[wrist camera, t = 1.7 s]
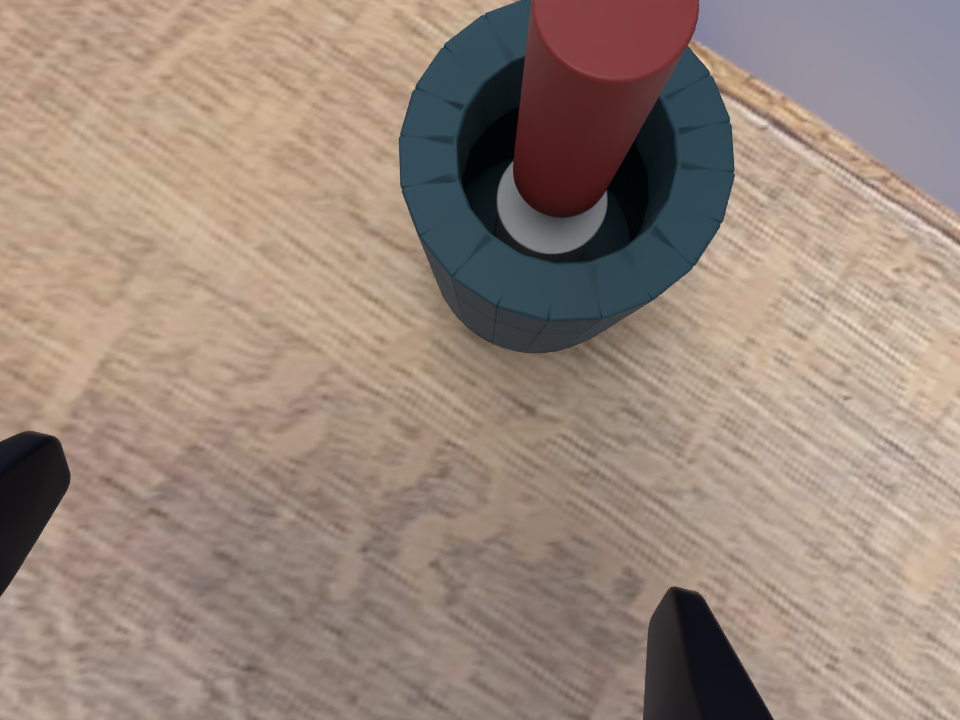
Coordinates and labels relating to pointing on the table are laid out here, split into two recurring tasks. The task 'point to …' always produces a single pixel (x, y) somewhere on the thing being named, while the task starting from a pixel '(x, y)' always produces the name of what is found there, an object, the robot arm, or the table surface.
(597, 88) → the red cylindrical rod
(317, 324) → the table surface
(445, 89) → the teal hollow cylinder
